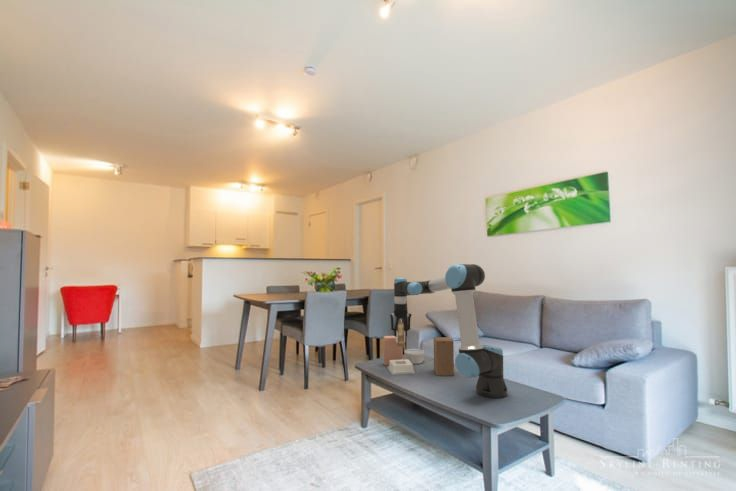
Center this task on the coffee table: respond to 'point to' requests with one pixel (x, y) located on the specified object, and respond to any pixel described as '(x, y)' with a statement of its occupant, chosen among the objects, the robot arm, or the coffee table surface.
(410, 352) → the ramekin
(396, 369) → the socket
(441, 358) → the wooden block
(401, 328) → the peg
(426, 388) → the coffee table surface
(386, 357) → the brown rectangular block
